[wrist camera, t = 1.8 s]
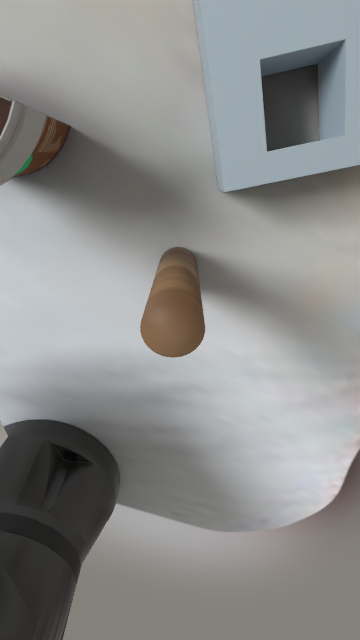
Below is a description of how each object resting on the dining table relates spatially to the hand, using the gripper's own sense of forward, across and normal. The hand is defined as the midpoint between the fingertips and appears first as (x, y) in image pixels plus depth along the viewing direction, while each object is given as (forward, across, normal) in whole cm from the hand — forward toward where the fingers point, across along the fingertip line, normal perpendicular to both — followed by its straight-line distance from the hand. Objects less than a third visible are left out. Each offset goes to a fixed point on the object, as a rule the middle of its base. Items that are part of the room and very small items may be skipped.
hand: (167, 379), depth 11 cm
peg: (+16, 0, 0) cm, 16 cm away
